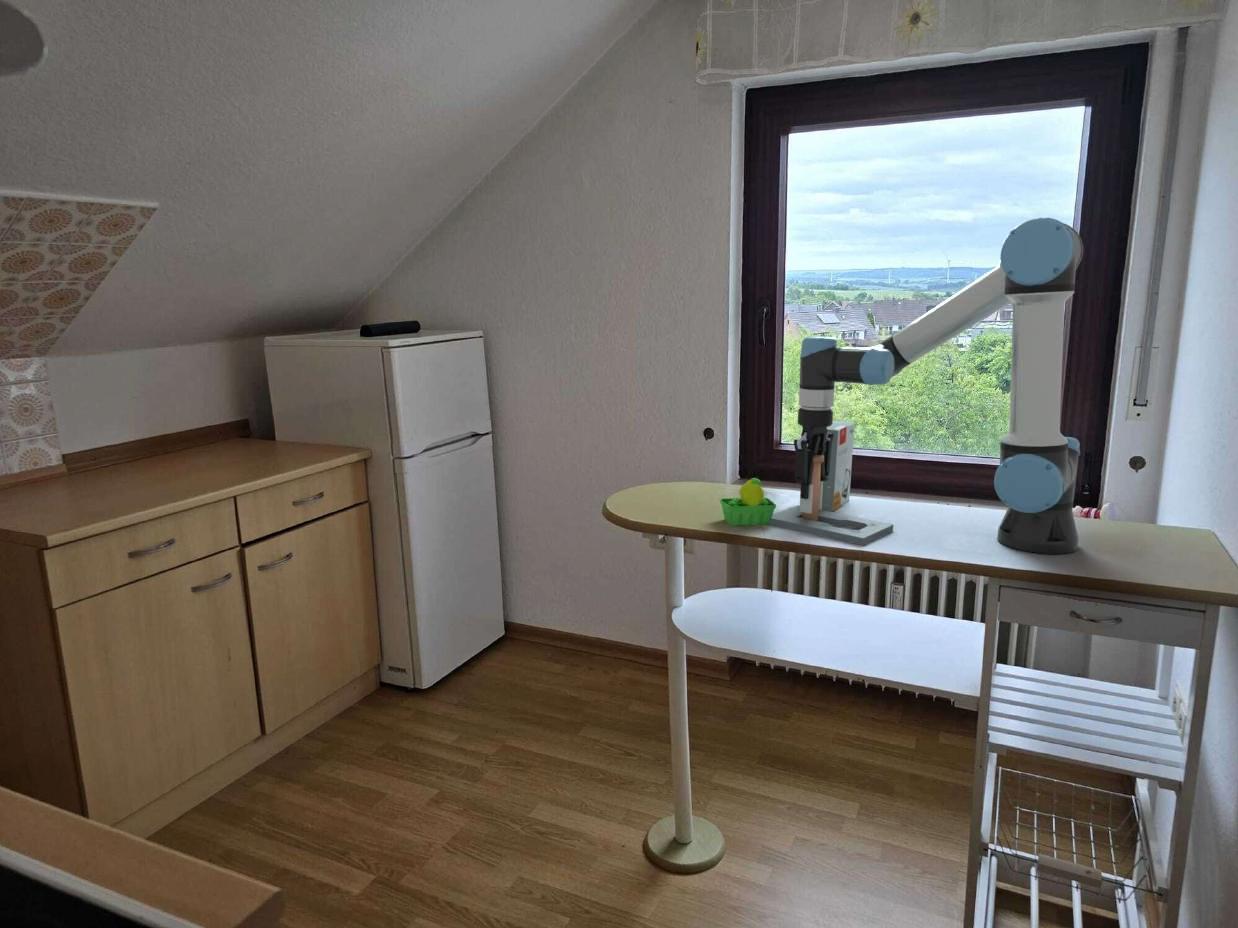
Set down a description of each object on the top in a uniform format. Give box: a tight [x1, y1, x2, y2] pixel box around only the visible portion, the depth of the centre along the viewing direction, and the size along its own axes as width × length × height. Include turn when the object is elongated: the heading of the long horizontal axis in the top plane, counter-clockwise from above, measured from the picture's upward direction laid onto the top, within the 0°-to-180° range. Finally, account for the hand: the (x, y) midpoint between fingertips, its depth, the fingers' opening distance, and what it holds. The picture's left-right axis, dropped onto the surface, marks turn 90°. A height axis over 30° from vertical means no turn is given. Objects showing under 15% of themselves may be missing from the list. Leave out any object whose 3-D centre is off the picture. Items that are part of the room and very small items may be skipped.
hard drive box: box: [821, 420, 856, 512], centre depth 204 cm, size 16×8×20 cm, turn 150°
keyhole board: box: [767, 504, 894, 546], centre depth 187 cm, size 24×14×2 cm, turn 47°
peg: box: [802, 454, 824, 521], centre depth 188 cm, size 5×5×15 cm
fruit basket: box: [719, 477, 777, 527], centre depth 190 cm, size 11×9×11 cm
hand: (810, 510), depth 190 cm, fingers closed on peg, 4 cm apart
